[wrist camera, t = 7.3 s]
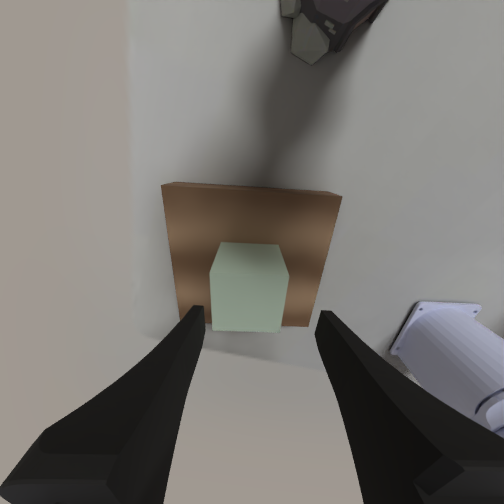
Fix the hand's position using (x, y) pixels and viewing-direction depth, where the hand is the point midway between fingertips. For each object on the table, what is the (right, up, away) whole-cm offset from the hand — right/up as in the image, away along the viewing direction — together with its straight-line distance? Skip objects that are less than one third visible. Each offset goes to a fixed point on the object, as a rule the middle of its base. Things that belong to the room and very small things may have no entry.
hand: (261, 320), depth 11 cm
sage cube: (-1, +3, +6) cm, 6 cm away
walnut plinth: (-1, +4, +8) cm, 9 cm away
